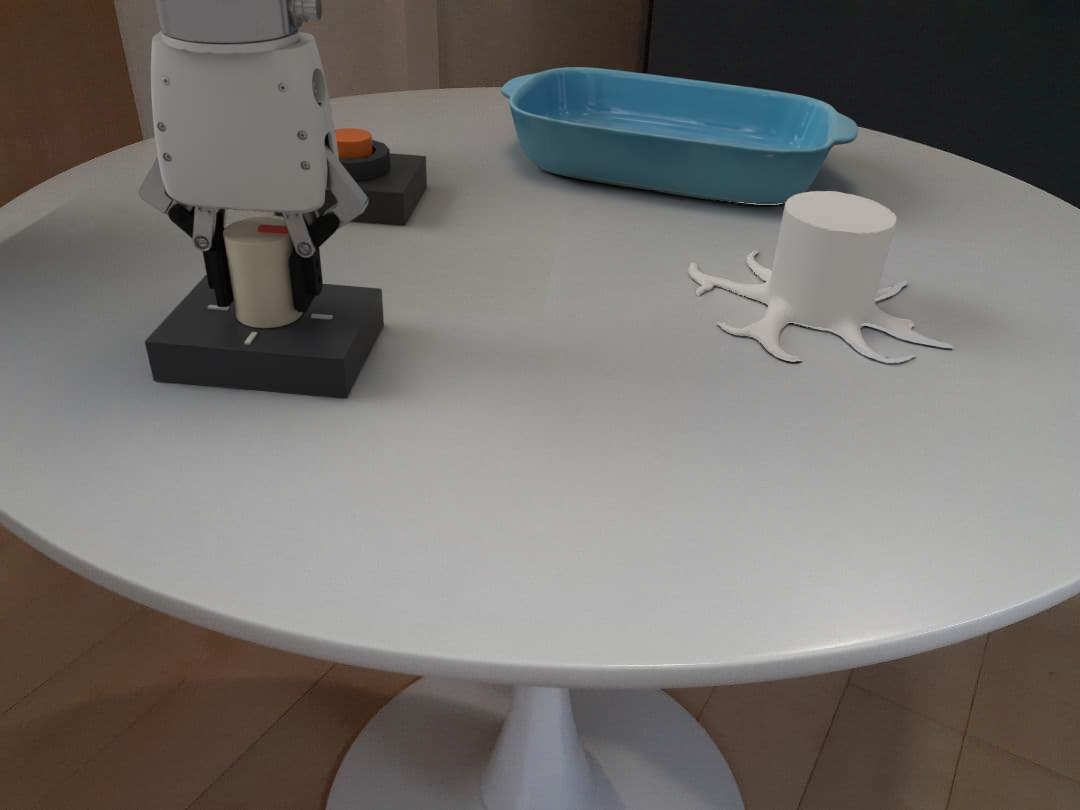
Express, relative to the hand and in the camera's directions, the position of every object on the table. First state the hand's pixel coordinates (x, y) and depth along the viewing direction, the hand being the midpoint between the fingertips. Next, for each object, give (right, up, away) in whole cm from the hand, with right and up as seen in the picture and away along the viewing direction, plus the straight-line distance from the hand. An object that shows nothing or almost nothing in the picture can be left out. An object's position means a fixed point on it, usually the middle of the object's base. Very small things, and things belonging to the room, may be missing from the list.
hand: (268, 298), depth 62 cm
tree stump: (+40, +1, +12) cm, 42 cm away
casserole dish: (+32, +18, +37) cm, 52 cm away
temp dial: (0, -1, +1) cm, 1 cm away
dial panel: (0, -3, +2) cm, 4 cm away
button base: (+1, +12, +26) cm, 28 cm away
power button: (+1, +16, +23) cm, 28 cm away
